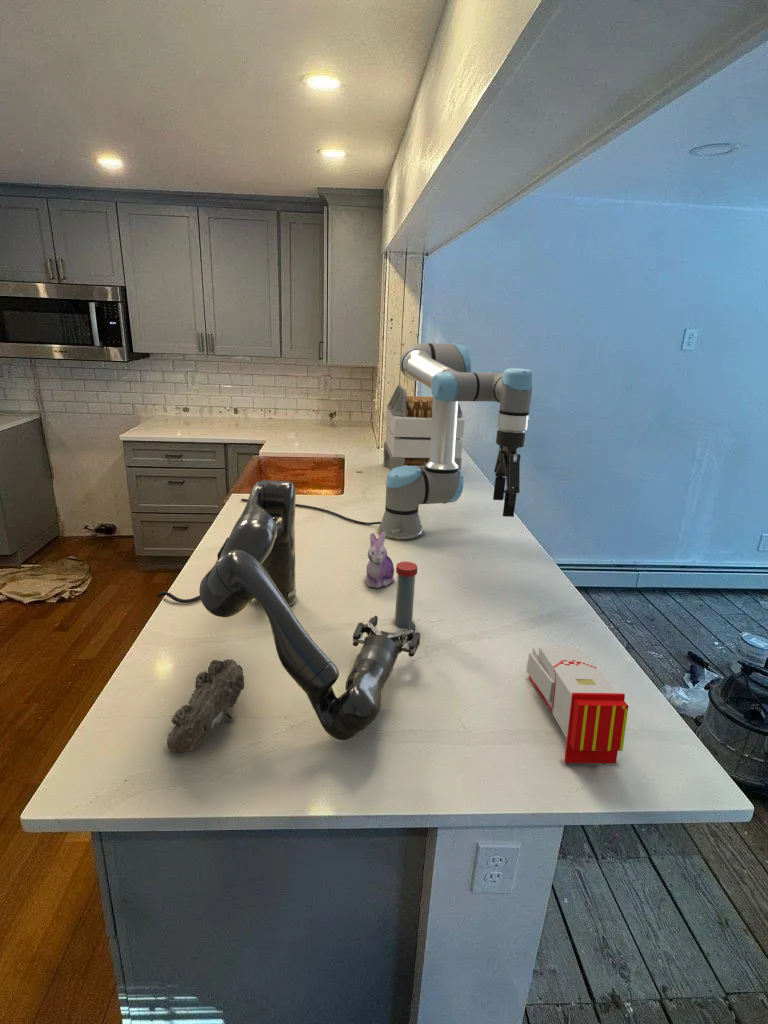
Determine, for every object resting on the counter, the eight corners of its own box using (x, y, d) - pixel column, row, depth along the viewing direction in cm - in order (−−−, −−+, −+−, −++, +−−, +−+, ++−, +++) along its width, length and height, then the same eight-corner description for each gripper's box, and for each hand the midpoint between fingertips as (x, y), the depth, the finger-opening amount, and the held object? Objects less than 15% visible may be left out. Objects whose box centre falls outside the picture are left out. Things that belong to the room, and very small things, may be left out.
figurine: (372, 591, 158) (374, 542, 153) (357, 576, 166) (358, 529, 161) (402, 585, 162) (404, 537, 157) (385, 571, 171) (387, 524, 166)
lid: (418, 577, 137) (419, 570, 136) (397, 577, 136) (397, 570, 136) (415, 567, 141) (416, 561, 141) (394, 567, 141) (395, 561, 140)
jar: (413, 627, 142) (417, 571, 136) (395, 627, 141) (398, 571, 136) (410, 618, 146) (414, 563, 141) (393, 618, 145) (396, 563, 140)
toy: (575, 629, 125) (638, 701, 96) (569, 684, 128) (628, 771, 99) (520, 628, 125) (567, 700, 96) (515, 683, 128) (560, 770, 98)
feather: (288, 505, 226) (290, 501, 226) (271, 529, 199) (273, 524, 199) (284, 503, 226) (287, 499, 225) (266, 526, 199) (269, 522, 199)
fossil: (192, 660, 117) (244, 628, 112) (224, 691, 120) (276, 661, 115) (142, 746, 98) (202, 712, 93) (182, 779, 101) (242, 748, 96)
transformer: (382, 463, 289) (386, 382, 275) (445, 464, 293) (451, 384, 279) (390, 482, 257) (394, 392, 243) (460, 483, 261) (468, 394, 247)
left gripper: (342, 670, 119) (364, 631, 134) (408, 683, 116) (423, 641, 131) (342, 639, 116) (365, 602, 131) (410, 652, 113) (425, 613, 128)
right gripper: (538, 441, 135) (527, 524, 142) (515, 421, 159) (507, 494, 166) (507, 440, 135) (497, 523, 142) (489, 420, 159) (481, 493, 166)
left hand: (394, 622), depth 131 cm, fingers open, 8 cm apart
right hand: (502, 507), depth 154 cm, fingers open, 13 cm apart
